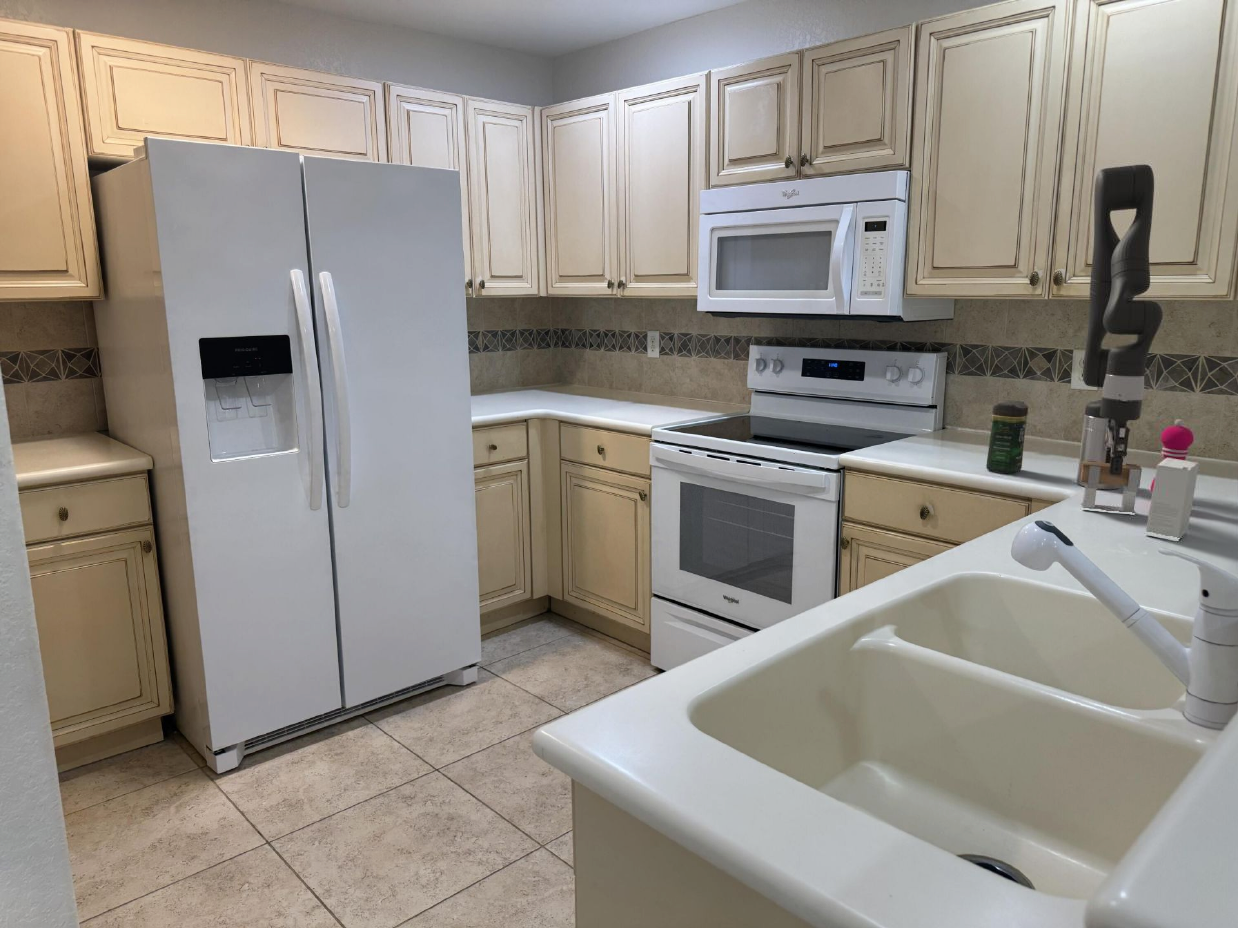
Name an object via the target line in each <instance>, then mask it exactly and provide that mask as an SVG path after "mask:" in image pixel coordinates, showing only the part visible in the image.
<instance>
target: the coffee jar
mask: <svg viewBox="0 0 1238 928" xmlns="http://www.w3.org/2000/svg"><path fill="white" fill-rule="evenodd" d="M1028 413H1029V405H1027V404H1026V403H1025V402H1024V401H1020V400H1011V399H1010V400H1007V401H1003V402H998V403H997V404H994V405H993V407H992V412H991V427H990V435H989V443H988V451H987V458H986V466H985V467H986V470H988V471H992V472H993V473H997V472H998V473H999V474H1003V473H1006V474H1007V473H1008V474H1013V473H1017V472H1019V471H1021V470H1022V467H1023V457H1024V456H1023V455H1024V445H1025V435H1026V428H1027V421H1028V415H1029V414H1028Z"/></svg>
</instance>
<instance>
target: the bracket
mask: <svg viewBox="0 0 1238 928" xmlns="http://www.w3.org/2000/svg"><path fill="white" fill-rule="evenodd" d="M1087 462H1097V463H1098V461H1089V460H1087ZM1125 465H1136V466H1138V465H1137V463H1128V462H1127V463H1125ZM1100 468H1101V467H1100V466H1090V468H1089V476H1088V483H1085V486H1084V489H1083V490H1084V492H1083V499H1082V503H1081V504H1080V506H1081V505H1082V507H1083V508H1089V509H1101V510H1106V511H1119V512H1132V513H1135V514H1136V511H1135V504H1136V499H1137V498H1136V497H1137V493H1139V488H1140V486H1139V481H1140V482H1141V479H1140V474H1141V475H1142V472H1141V470H1138V469H1130V470H1129V478H1128V485H1127V486H1123V493H1122V499H1121V506H1114V505H1113V506H1112V505H1102V504H1096V496H1097V490H1099V489H1098V484H1099V476H1100Z"/></svg>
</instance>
